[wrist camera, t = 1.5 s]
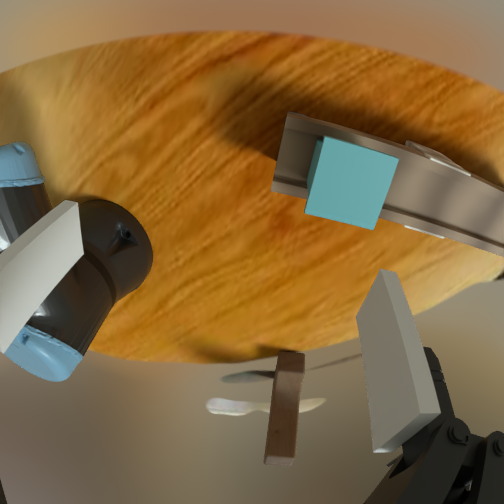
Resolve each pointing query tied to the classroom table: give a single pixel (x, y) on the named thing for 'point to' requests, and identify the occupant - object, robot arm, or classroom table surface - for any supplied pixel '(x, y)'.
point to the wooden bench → (404, 184)
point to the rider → (348, 182)
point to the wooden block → (284, 409)
